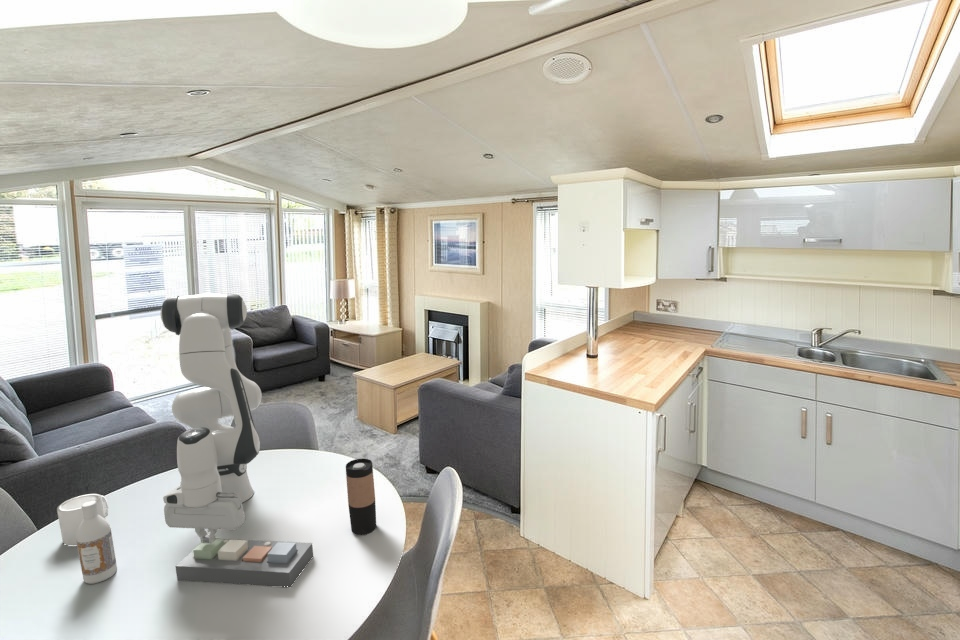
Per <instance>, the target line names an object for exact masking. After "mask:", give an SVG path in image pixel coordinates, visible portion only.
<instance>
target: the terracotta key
mask: <svg viewBox="0 0 960 640" xmlns="http://www.w3.org/2000/svg"><path fill="white" fill-rule="evenodd" d="M271 549H272V547H267V546H254V547H253V548H252V549H251V550H250V551H249V552H248V553H247V554H246V555H245V556H244V557H243V561H246V562H263V561H264V559H265V558H266V557H267V554H268V553H269V551H270V550H271Z"/></svg>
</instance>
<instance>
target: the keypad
mask: <svg viewBox="0 0 960 640" xmlns="http://www.w3.org/2000/svg"><path fill="white" fill-rule="evenodd" d="M215 538H216V539H222V538H217V537H215ZM223 539H224V545H225V544H226V543H227V542H228V541H229V540H242V539H239V538H237V539H236V538H223ZM246 540H247V541H248V550H247V551H246V552H245V553H244V554H243V555H242V556H241V557H240V558H239V559H238V560H237V561H229V560H219V559H218V555H217V556H216V557H215V558H213V559H212V560H211V559H194V552H193V550H192V551H191V552H189V554H187V555H186V556H184V558H183V559H182V560H181V561H179V562H178V563H177V564H176V565H175V573H176V579H177V581H178V582H180V581H181V582H182V581H183V582H196V583H197V582H198V583H210V584H226V585H227V584H228V585H229V584H230V585H241V586H243V585H244V586H256V587H257V586H259V587H272V586H282V587H281V588H287V586H288V587H291V588H292V586H293V585H294V584H295V582H296V581H297V580H296V578H297V577H298V576H299V574H300V573H301V572H302V570H303V569H304V568H305V569H306V567H307V566H308V565H307V564H309V563H310V562H311V561H312V559H313V558H314V550H313V542H300V541H299V542H297V541H287V542H288V543H296V548H297V552H296V554H295V555H294V556H293V557H292V559H291V560H290V561H289V562H288V564H282V563H268V556H267V557H266V558H265V559H264V561H263V562H246V561H243V557H244V556H245V555H246V554H247V553H248V552H249V551H250V550H251V549H252V548H253V547H254V546H267V547H272V548H273V547H274V546H275V545H276V544H277V542H282V541H280V540H278V541H275V540H257V539H246ZM312 557H313V558H312ZM311 558H312V559H311ZM310 560H311V561H310ZM309 561H310V562H309ZM308 562H309V563H308ZM306 565H307V566H306ZM305 566H306V567H305ZM305 569H304V570H305ZM304 570H303V571H304ZM302 573H303V572H302ZM302 573H301V574H302ZM301 574H300V575H301ZM299 577H300V576H299ZM299 577H298V578H299ZM298 578H297V579H298ZM295 580H296V581H295ZM294 581H295V582H294ZM293 583H294V584H293ZM292 584H293V585H292ZM291 585H292V586H291ZM284 586H285V587H284Z"/></svg>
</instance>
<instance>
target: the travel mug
mask: <svg viewBox="0 0 960 640" xmlns="http://www.w3.org/2000/svg"><path fill="white" fill-rule="evenodd" d="M373 466H374V465H373V462H372V460H371V459H369V458H356V459H352V460H350V461H348V462H347V463H346V464H345V476H346V477H345V478H346V488H347V505H348V512H349V519H350V521H349V523H350V530H351V533H352V534H354V535H356V536H366V535H369V534H371V533H373V532H374V531H375V530H376V528H377V512H376V511H377V510H376V509H377V507H376V491H375V479H374V470H373Z"/></svg>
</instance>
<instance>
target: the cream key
mask: <svg viewBox="0 0 960 640" xmlns="http://www.w3.org/2000/svg"><path fill="white" fill-rule="evenodd" d="M247 540H248V539H241V540H229V541H228V542H227V543H226V544H225V545H224V546H223V547H221V548H220V549H219V550H218V559H219V560H229V561H237V560H238V559H239V558H240V557H241V556H242V555H243V554H244V553H245V552H246V551H247V550H248V541H247Z"/></svg>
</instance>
